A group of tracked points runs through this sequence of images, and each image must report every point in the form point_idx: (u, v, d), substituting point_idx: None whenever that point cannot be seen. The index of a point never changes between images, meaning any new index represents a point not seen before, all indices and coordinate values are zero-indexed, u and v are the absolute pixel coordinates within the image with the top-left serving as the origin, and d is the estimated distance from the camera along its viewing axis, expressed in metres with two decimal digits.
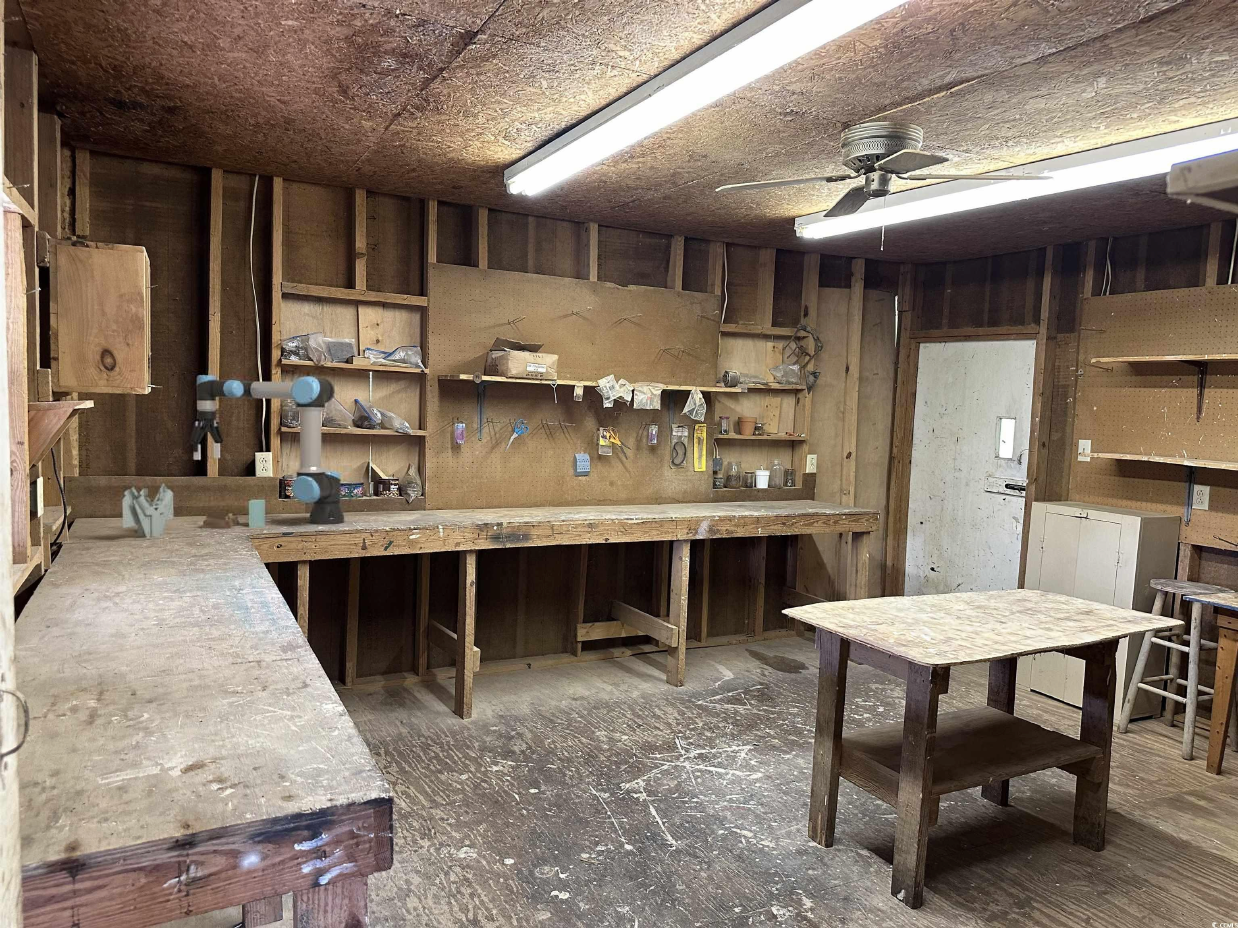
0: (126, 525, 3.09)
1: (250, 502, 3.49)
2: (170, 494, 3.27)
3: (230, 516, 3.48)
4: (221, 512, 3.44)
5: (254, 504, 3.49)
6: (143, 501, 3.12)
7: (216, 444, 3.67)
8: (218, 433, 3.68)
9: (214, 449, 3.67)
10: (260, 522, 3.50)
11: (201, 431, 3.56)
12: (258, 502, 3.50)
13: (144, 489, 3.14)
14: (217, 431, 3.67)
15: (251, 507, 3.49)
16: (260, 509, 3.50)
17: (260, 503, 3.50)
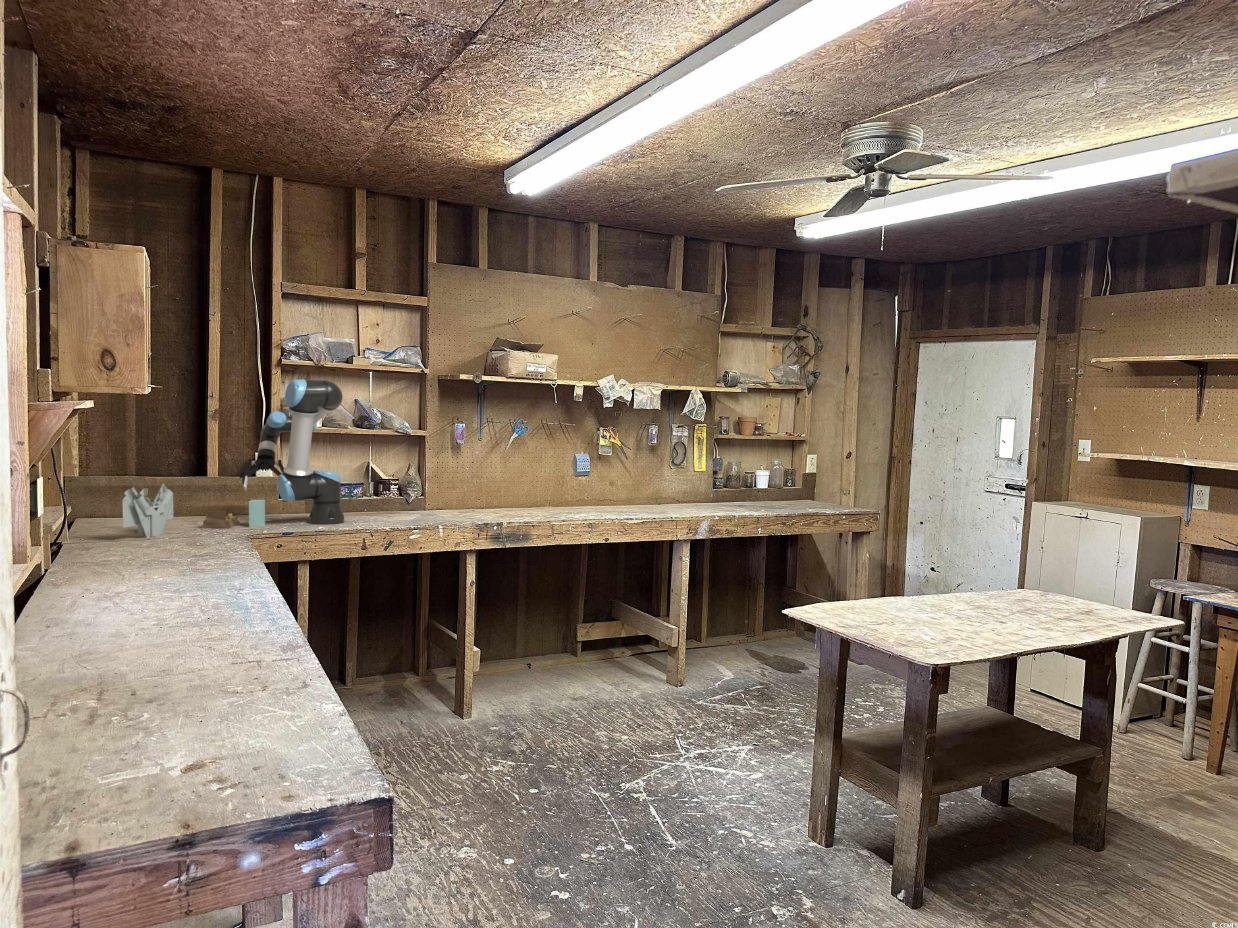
0: (126, 525, 3.09)
1: (250, 502, 3.49)
2: (170, 494, 3.27)
3: (230, 516, 3.48)
4: (221, 512, 3.44)
5: (254, 504, 3.49)
6: (143, 501, 3.12)
7: None
8: (281, 469, 3.71)
9: None
10: (260, 522, 3.50)
11: None
12: (258, 502, 3.50)
13: (144, 489, 3.14)
14: (280, 468, 3.72)
15: (251, 507, 3.49)
16: (260, 509, 3.50)
17: (260, 503, 3.50)
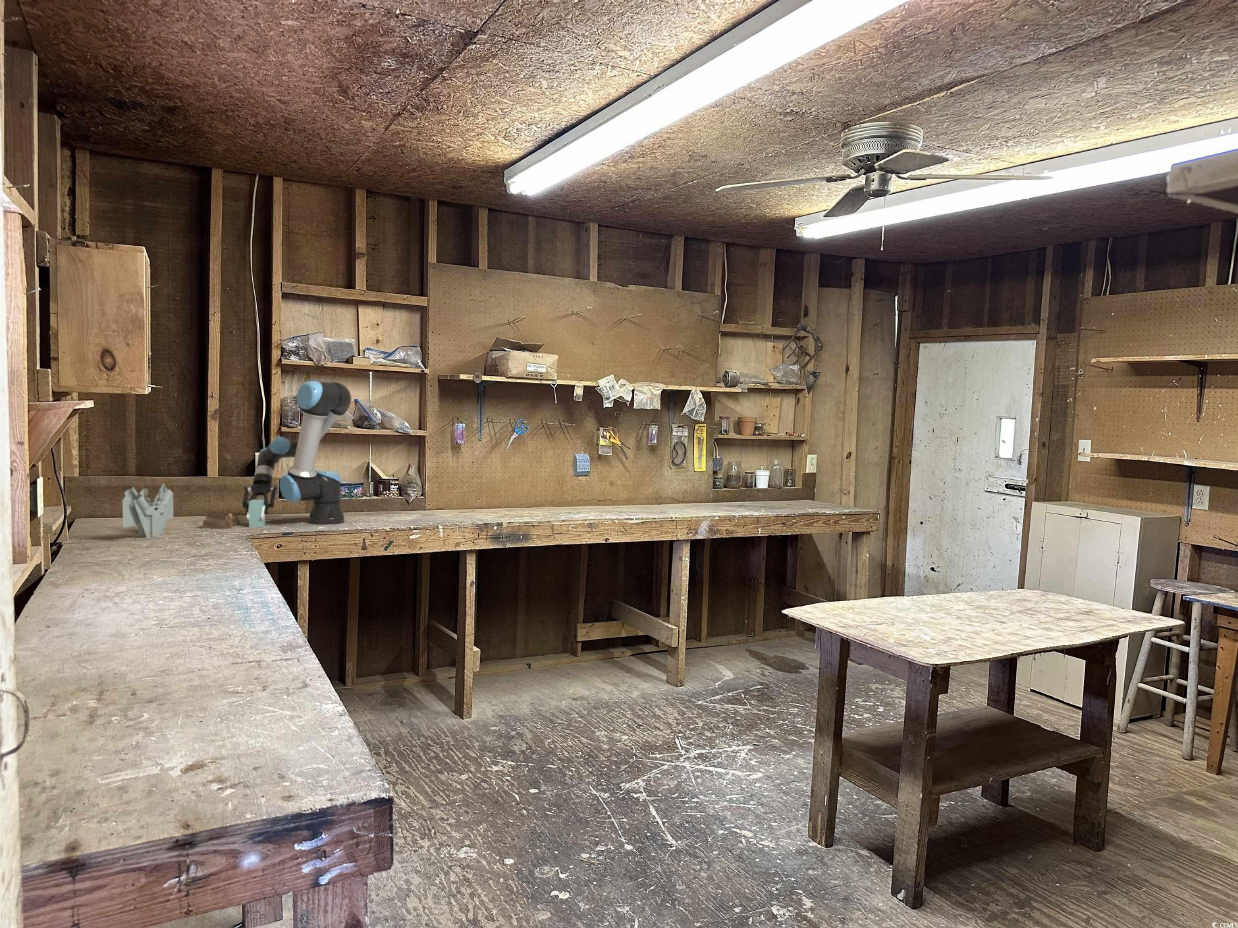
0: (126, 525, 3.09)
1: (250, 502, 3.49)
2: (170, 494, 3.27)
3: (230, 516, 3.48)
4: (221, 512, 3.44)
5: (254, 504, 3.49)
6: (143, 501, 3.12)
7: None
8: (271, 497, 3.58)
9: None
10: (260, 522, 3.50)
11: None
12: (258, 502, 3.50)
13: (144, 489, 3.14)
14: None
15: (251, 507, 3.49)
16: (260, 509, 3.50)
17: (260, 503, 3.50)
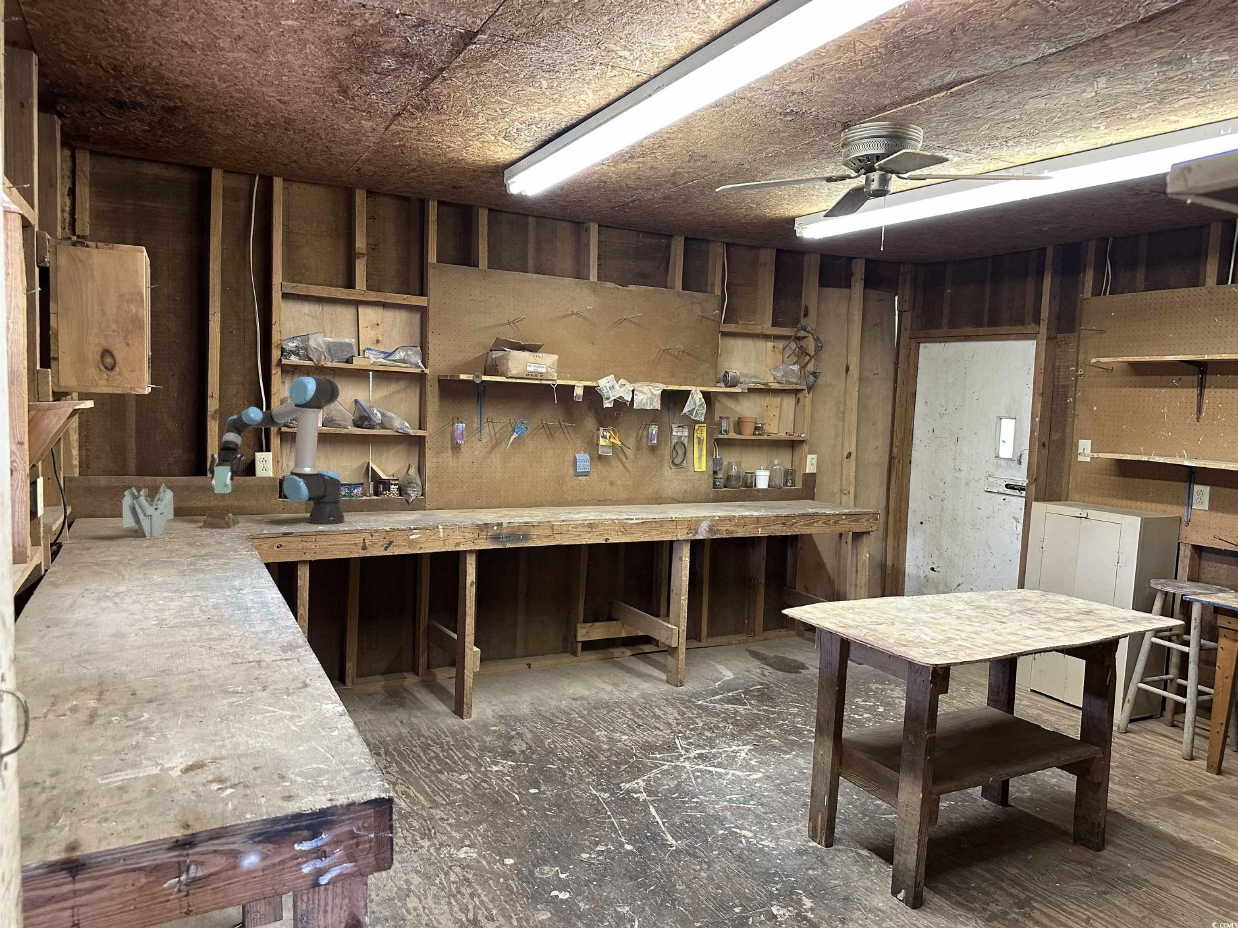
0: (126, 525, 3.09)
1: (215, 468, 3.49)
2: (170, 494, 3.27)
3: (230, 516, 3.48)
4: (221, 512, 3.44)
5: (220, 470, 3.50)
6: (143, 501, 3.12)
7: None
8: None
9: None
10: (226, 488, 3.51)
11: None
12: (224, 468, 3.50)
13: (144, 489, 3.14)
14: None
15: (216, 473, 3.50)
16: (226, 475, 3.50)
17: (226, 469, 3.50)
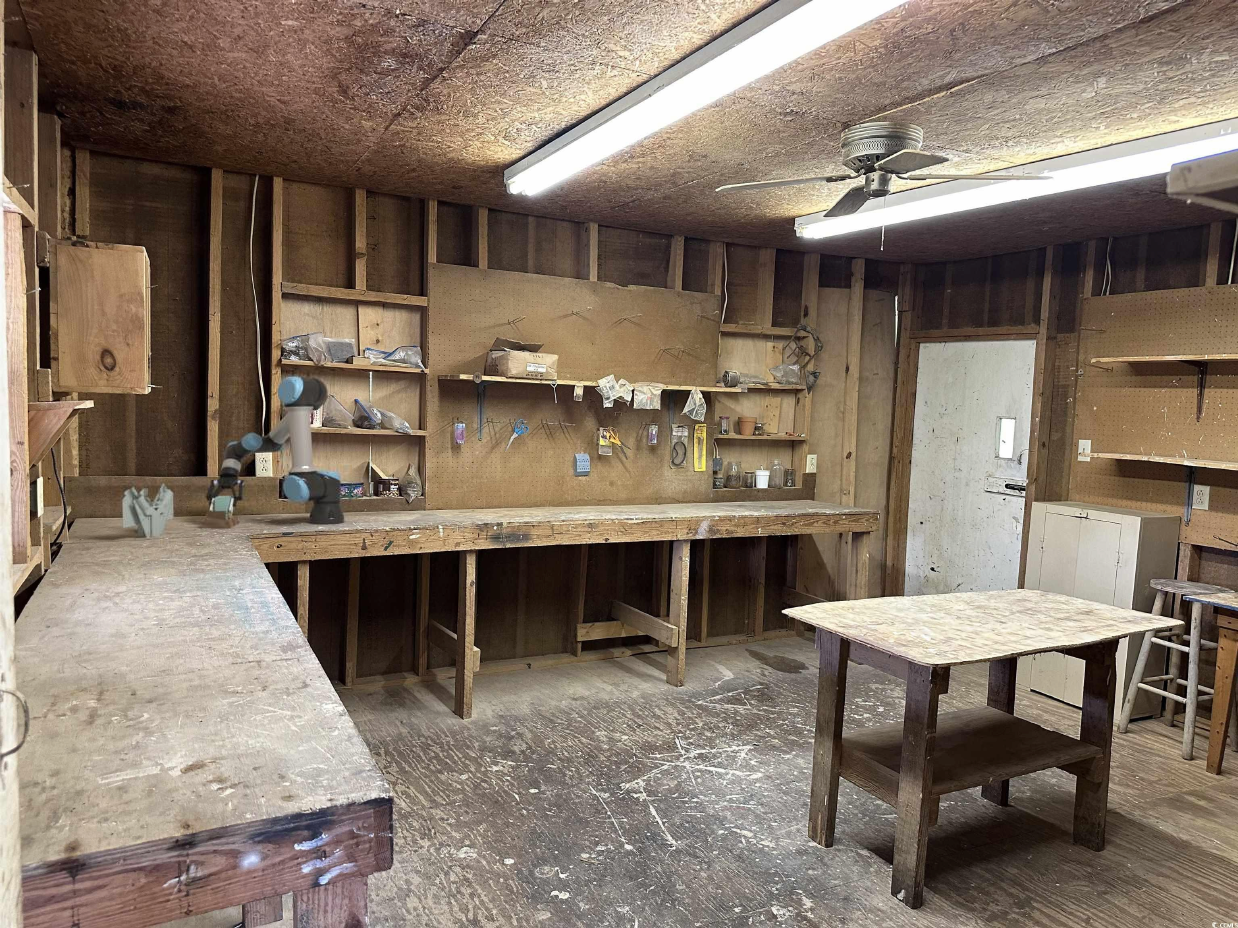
0: (126, 525, 3.09)
1: (216, 498, 3.50)
2: (170, 494, 3.27)
3: (230, 516, 3.48)
4: (221, 512, 3.44)
5: (220, 500, 3.51)
6: (143, 501, 3.12)
7: None
8: (239, 490, 3.59)
9: None
10: (226, 518, 3.51)
11: None
12: (224, 498, 3.51)
13: (144, 489, 3.14)
14: (239, 488, 3.60)
15: (217, 503, 3.50)
16: (226, 505, 3.51)
17: (226, 499, 3.51)
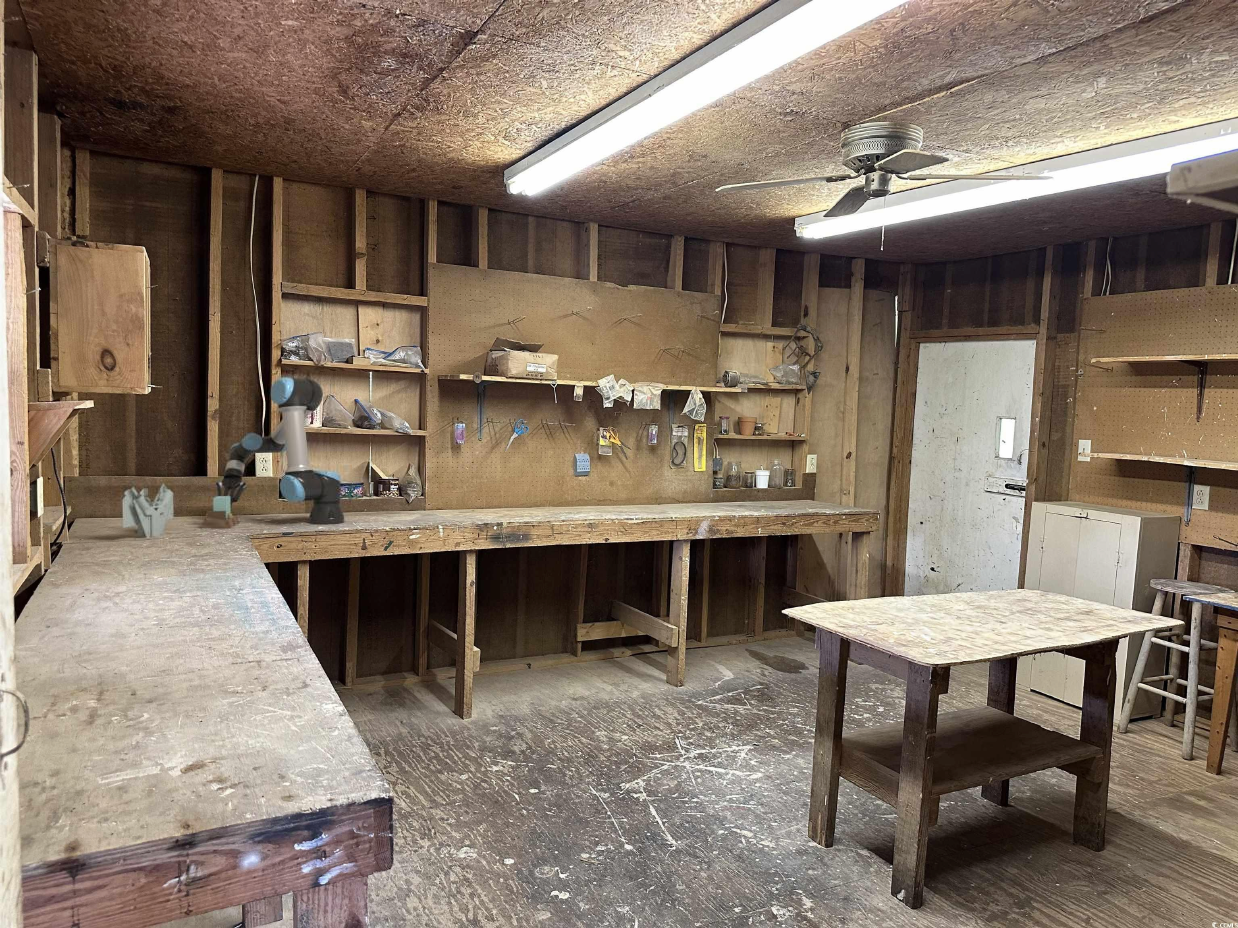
0: (126, 525, 3.09)
1: (214, 498, 3.49)
2: (170, 494, 3.27)
3: (230, 516, 3.48)
4: (221, 512, 3.44)
5: (218, 500, 3.49)
6: (143, 501, 3.12)
7: None
8: None
9: None
10: None
11: None
12: (223, 498, 3.49)
13: (144, 489, 3.14)
14: None
15: (215, 503, 3.49)
16: (225, 505, 3.50)
17: (225, 499, 3.49)
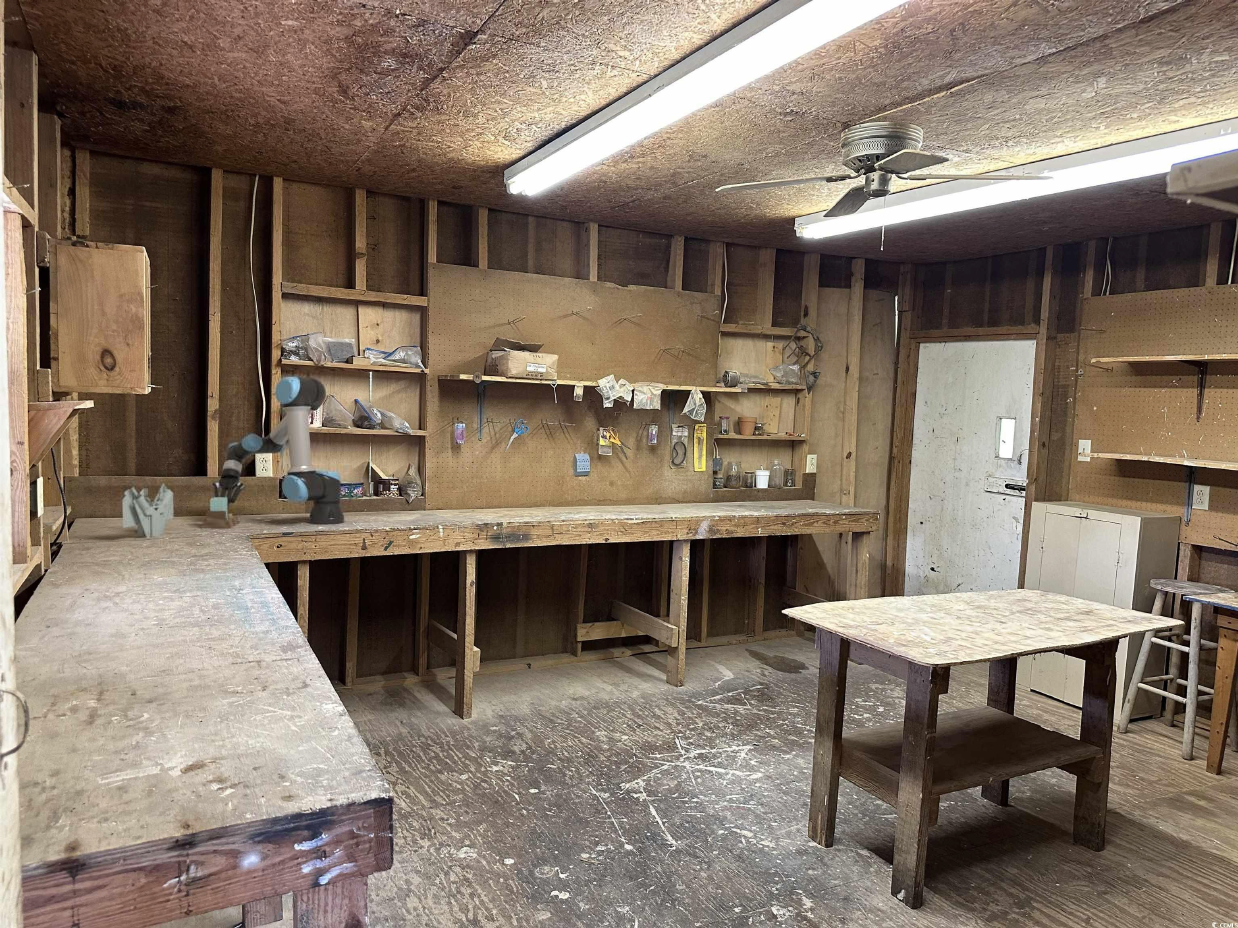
0: (126, 525, 3.09)
1: (211, 500, 3.44)
2: (170, 494, 3.27)
3: (230, 516, 3.48)
4: (221, 512, 3.44)
5: (215, 502, 3.44)
6: (143, 501, 3.12)
7: None
8: None
9: None
10: None
11: None
12: (219, 500, 3.45)
13: (144, 489, 3.14)
14: None
15: (212, 505, 3.44)
16: (222, 507, 3.45)
17: (221, 501, 3.45)
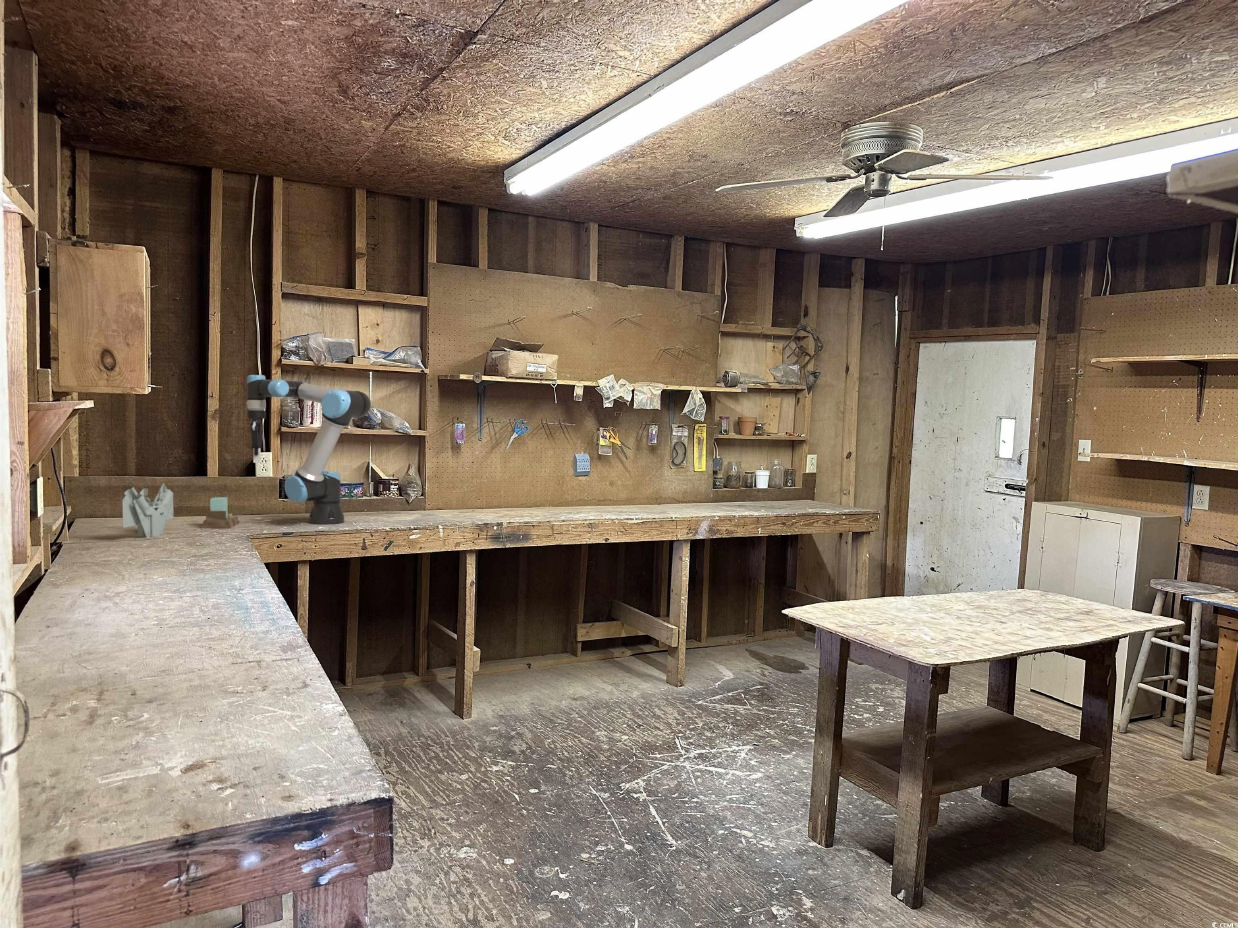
0: (126, 525, 3.09)
1: (211, 500, 3.44)
2: (170, 494, 3.27)
3: (230, 516, 3.48)
4: (221, 512, 3.44)
5: (215, 502, 3.44)
6: (143, 501, 3.12)
7: None
8: None
9: None
10: None
11: None
12: (220, 500, 3.45)
13: (144, 489, 3.14)
14: None
15: (212, 505, 3.44)
16: (222, 507, 3.45)
17: (222, 501, 3.45)
